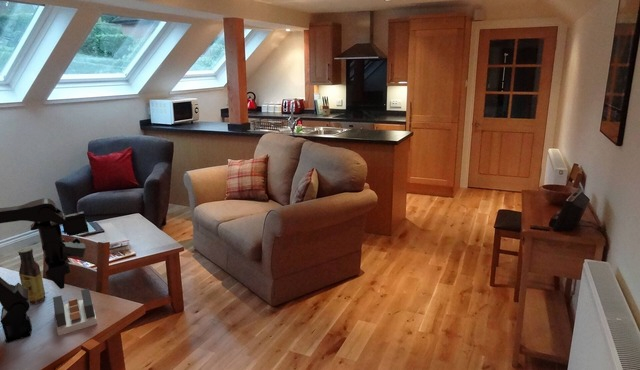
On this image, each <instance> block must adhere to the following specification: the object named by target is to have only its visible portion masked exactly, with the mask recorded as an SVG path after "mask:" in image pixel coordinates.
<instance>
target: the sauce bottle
mask: <svg viewBox="0 0 640 370" xmlns="http://www.w3.org/2000/svg"><path fill="white" fill-rule="evenodd" d="M33 253H34V250H33V248H32V247H30V246H27V247H23V248H20V249H18V255H19V258H20V265H19V270H18V275H19V279H20V284H21V285H22V287H23V288H25V289H28V293H29V296H30V305H37V304H40V303H41V302H43V301H44V300H45V299H46V290H45V287H44V286H45V285H44V281H43V277H42V272H41V269H40V265H39V263H38V262H37V261H36V260H35V258H34V254H33Z"/></svg>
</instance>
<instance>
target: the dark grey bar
mask: <svg viewBox="0 0 640 370" xmlns="http://www.w3.org/2000/svg"><path fill="white" fill-rule="evenodd" d="M52 300H53V311H54V319H55V322H56V323H57V324H56V328H57V327H60V326H64V325H66V319H65V311H64V305H65V304H64V301H63V296H62V295H58V296H54V297H52Z"/></svg>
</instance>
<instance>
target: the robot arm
mask: <svg viewBox="0 0 640 370" xmlns="http://www.w3.org/2000/svg"><path fill="white" fill-rule="evenodd" d="M19 221H21V222H22V221H23V222H24V221H26V222H31V224H30V231H37V230H38V234H39V238H40V243H41V249H42V251H43V255H44V263H46V266H45V267H44V271H45V272H44V273H45V277H46V278H47V279H51V281H52V282H53V283H54V284H55V285H56V286H57V287H58V288H59V290H63V289H64V288H65V279H66V275H68V274H70V273H71V269H70V268H71V267H70V263H69V262H68V261H67V260H68V259H69V257H73V258H74V257H75V258H76V257H78V258H84V256H85V253H86V248H87V247H86V244H85V243H84V242H81V239H80V238H79V237H73V236H77V235H82V234H86V233H89V232H90V231H89V226H88V222H87V219H86V214H85V211H79V212H75V213H71V214H65V212H64V211H63V210H61V209H59V208H58V207H57V204H56V203H55V201H54V200H52V199H50V198H47V197H43V198H40V199H35V200H32V201H29V202H26V203H24V204H21V205H14V206H8V207H0V224H4V223H5V224H6V223H12V222H13V223H14V222H19ZM61 225H62V228H61ZM62 229H63V233H62ZM63 234H64V235H66V236H69V237H73V238H72V239H71V241H68V242H67V241H65V238H63ZM0 305H1V313H0V314H1V315H0V324H1V327H2V330H3V334H4V338H5V339H4V341H5V344H8V343H11V342H15V341H17V340H18V341H19V340H22V339H26V338H29V337H31V333H32V331H33V326H32V321H31V317H30V315H27V314H28V311H29V310H30V307H31V306H30V305H31V304H30V296H29V293H28V289H25V288H23V287H22V285H21V282H17V283H16V284H15V285H13V284H11V283H8V282H7V281H6V280H5V279H3V278H2V277H1V276H0Z"/></svg>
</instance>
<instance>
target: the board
mask: <svg viewBox="0 0 640 370" xmlns="http://www.w3.org/2000/svg"><path fill="white" fill-rule="evenodd" d="M77 301H78V306H79V311H80V316H81V318H78V319H75V320H71V315H70V309H69V303H66V304H63V305H64V311H65V319H66V325H64V326H60V327H57V326H56V331H57V336H62V335H64V334H65V335H66V334H68V333H72V332H75V331H78V330H81V329H85V328H89V327H92V326H94V325H97V324H98V319H97V316H96V311H95V310H94V313H95V317H91V318H88V319H87V317H86V312H85V308H84V303H83V299H79V300H77ZM93 308H94V309H95V307H94V306H93ZM56 325H57V323H56Z"/></svg>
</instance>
